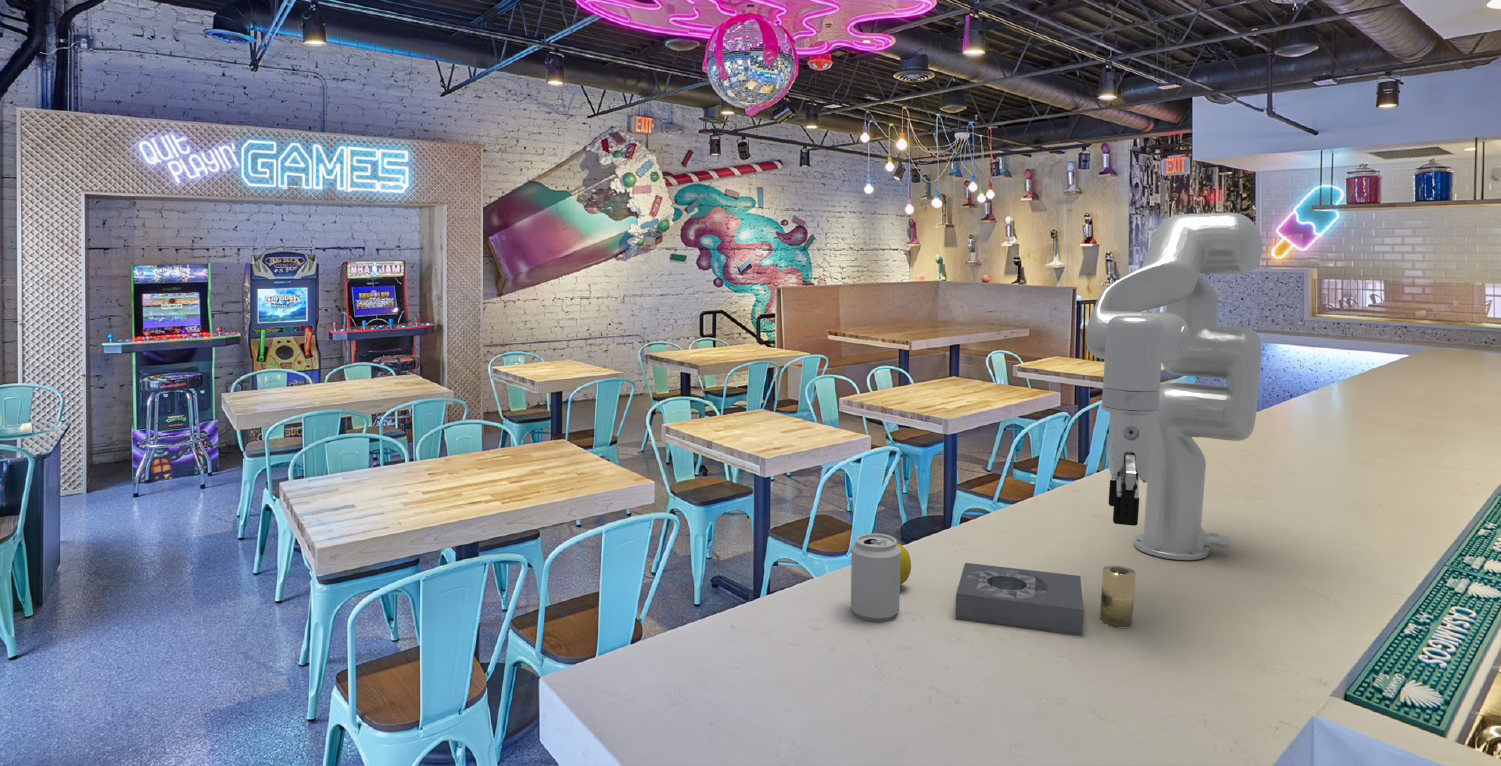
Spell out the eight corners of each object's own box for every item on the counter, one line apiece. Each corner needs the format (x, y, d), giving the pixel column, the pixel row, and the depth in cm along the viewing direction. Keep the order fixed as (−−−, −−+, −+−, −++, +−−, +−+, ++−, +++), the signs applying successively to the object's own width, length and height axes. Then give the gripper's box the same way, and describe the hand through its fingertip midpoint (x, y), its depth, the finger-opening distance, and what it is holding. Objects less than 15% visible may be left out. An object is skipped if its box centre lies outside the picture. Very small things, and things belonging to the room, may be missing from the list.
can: (864, 599, 136) (865, 527, 134) (907, 610, 131) (909, 536, 130) (841, 615, 129) (842, 540, 128) (886, 627, 125) (888, 550, 124)
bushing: (1130, 617, 129) (1134, 566, 127) (1133, 629, 124) (1137, 577, 123) (1099, 613, 130) (1102, 563, 129) (1100, 625, 126) (1103, 573, 125)
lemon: (873, 582, 143) (874, 536, 142) (905, 581, 143) (906, 536, 142) (881, 595, 137) (882, 548, 136) (914, 594, 138) (915, 547, 137)
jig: (1079, 599, 135) (1080, 575, 135) (1082, 635, 122) (1083, 609, 122) (964, 585, 141) (965, 562, 141) (955, 618, 128) (956, 593, 128)
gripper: (1166, 411, 113) (1157, 534, 115) (1151, 394, 129) (1143, 502, 131) (1105, 408, 115) (1098, 528, 118) (1098, 391, 132) (1092, 498, 134)
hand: (1122, 514), depth 125 cm, fingers open, 9 cm apart
